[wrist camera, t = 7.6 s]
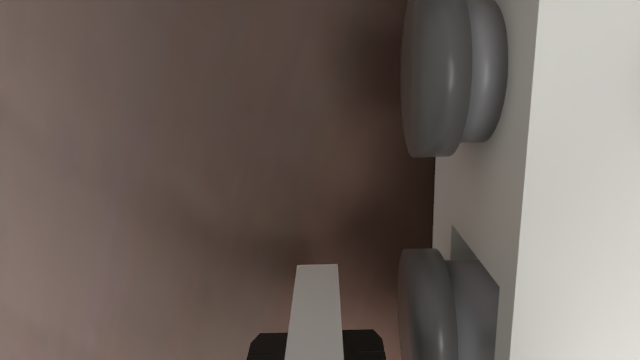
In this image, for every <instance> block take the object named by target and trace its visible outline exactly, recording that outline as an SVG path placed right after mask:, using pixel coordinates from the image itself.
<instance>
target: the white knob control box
mask: <svg viewBox="0 0 640 360" xmlns="http://www.w3.org/2000/svg"><path fill="white" fill-rule="evenodd" d="M400 99H401V115H402V125H403V132H404V138H405V142H406V146H407V149H408V152H409V154H410V155H411V156H412V157H436V160H435V188H434V216H433V244H432V248H435V249H438V250H439V251H440V253H441V254H442V256H443V258H444V260H479V261H480V262H481V263H482V264H483V266H484V267H485V268H486V270H487V271H488V272H489V274H490V275H491V276H492V278H493V279H494V280H495V282H496V283H497V284H498V286H499V287H500V290H499V303H498V317H497V330H496V343H495V357H494V360H640V0H408V2H407V6H406V11H405V17H404V24H403V32H402V43H401V61H400Z"/></svg>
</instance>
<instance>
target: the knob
mask: <svg viewBox="0 0 640 360" xmlns="http://www.w3.org/2000/svg"><path fill="white" fill-rule="evenodd" d="M499 290H500V287H499V286H498V284H497V283H496V282H495V280H494V279H493V278H492V276H491V275H490V274H489V272H488V271H487V270H486V268H485V267H484V266H483V264H482V263H481V262H480V261H479V260H444V258H443V256H442V254H441V253H440V251H439V250H438V249H435V248H426V249H404V250H403V251H402V253H401V257H400V262H399V271H398V324H399V337H400V348H401V356H402V360H494V357H495V343H496V330H497V317H498V303H499Z"/></svg>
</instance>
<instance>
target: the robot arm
mask: <svg viewBox="0 0 640 360" xmlns="http://www.w3.org/2000/svg"><path fill="white" fill-rule="evenodd" d="M247 360H386V356H385V352H384V346H383V342H382V338H381V337H380V336H379V335H378V334H377V333H376V332H375V331H374V330H373V329H370V330H342V323H341V307H340V291H339V276H338V264H317V265H297V270H296V277H295V285H294V292H293V300H292V307H291V315H290V322H289V330H288V333H260V334H259V335H258V336H257V337H256V338H255V339H254V340H253V341H252V342H251V345H250V349H249V352H248V356H247Z"/></svg>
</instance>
